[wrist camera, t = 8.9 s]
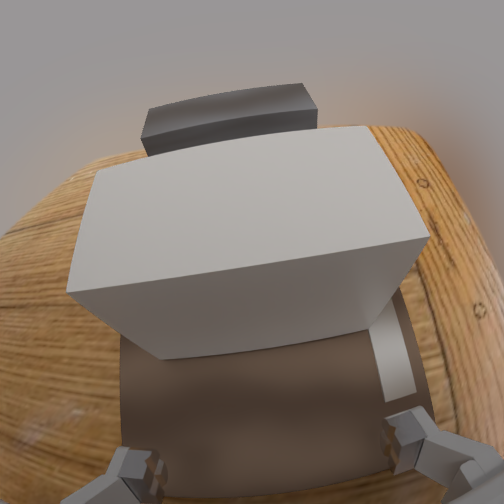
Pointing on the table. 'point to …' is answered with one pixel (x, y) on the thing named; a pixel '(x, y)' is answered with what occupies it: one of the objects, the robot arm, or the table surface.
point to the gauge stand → (266, 361)
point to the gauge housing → (246, 242)
